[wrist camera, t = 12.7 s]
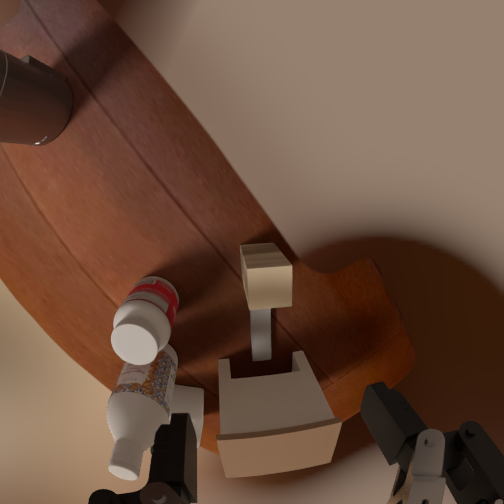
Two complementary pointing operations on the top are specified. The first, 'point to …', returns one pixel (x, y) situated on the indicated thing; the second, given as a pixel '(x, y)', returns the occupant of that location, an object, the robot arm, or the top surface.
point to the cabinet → (274, 421)
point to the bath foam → (139, 410)
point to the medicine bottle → (189, 406)
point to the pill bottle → (145, 320)
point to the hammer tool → (264, 291)
